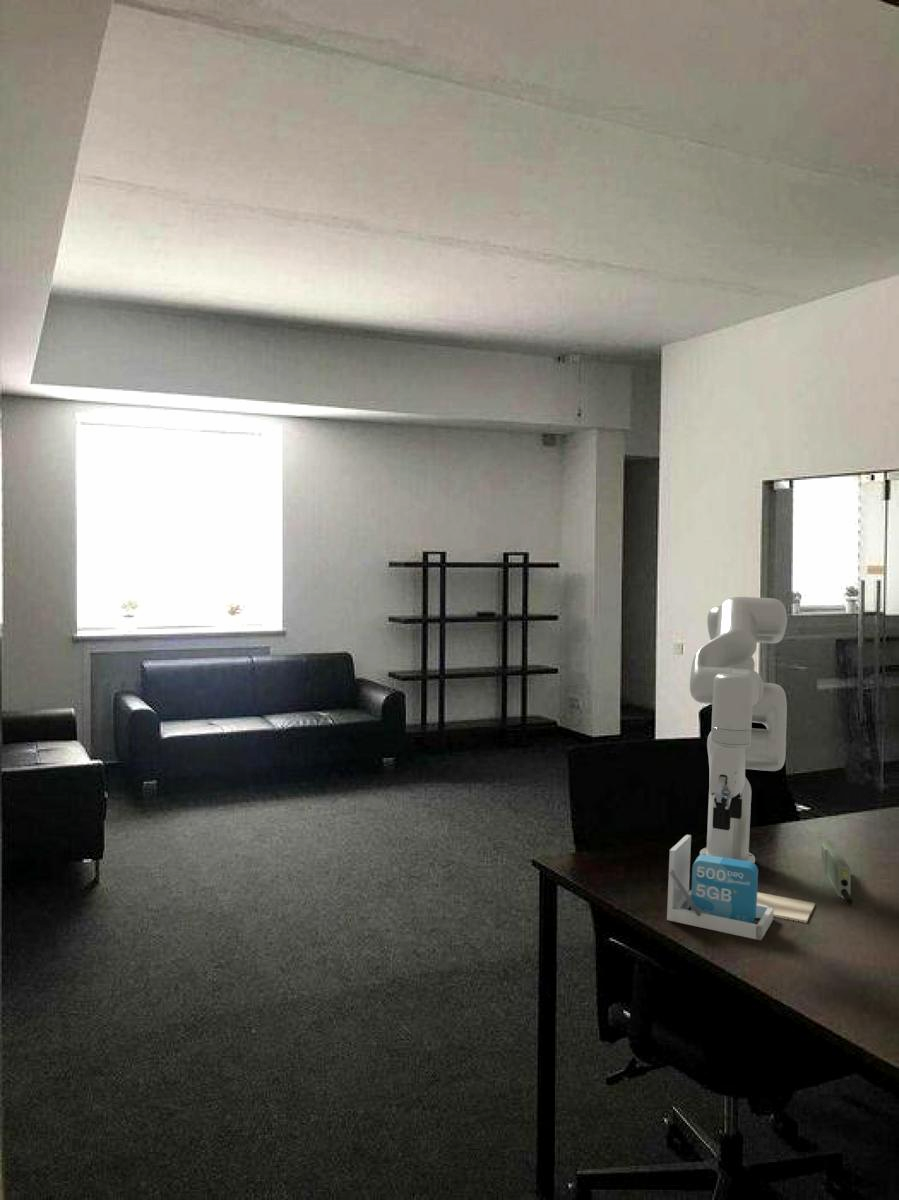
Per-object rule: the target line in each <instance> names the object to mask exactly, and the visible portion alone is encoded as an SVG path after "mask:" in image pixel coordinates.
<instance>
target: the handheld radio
mask: <svg viewBox="0 0 899 1200" xmlns="http://www.w3.org/2000/svg"><path fill="white" fill-rule="evenodd" d="M821 866H822V869H823V871H824V872H825V874H826V873H827V874H826V876H827V877H828V879H829V881H830V883H831V885H832V887H833V886H834V887H833V888H835V889H834V891H835V893H836V894H837V896H838V895H839V896H838V897H840V896H843V897H844V898H843V899H844V900H845V903H846V904H847V905H851V904H853V899H852V897H851V891H852V890H851V887H852V886H851V884H852V882H851V880H852V879H851V876H852V870H851V867H850V865H849V864H848V862H847V860H846V859H845V858H844V856H843V855H842V853H841V851H840V849H839V847H837V845H836V843H835V841H833V840H824V841H822V843H821Z"/></svg>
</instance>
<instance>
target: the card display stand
mask: <svg viewBox="0 0 899 1200" xmlns="http://www.w3.org/2000/svg"><path fill="white" fill-rule="evenodd" d="M691 843H692V835H691V834H686V835H684V836H683V837H682V838H681V839H680V840H679V841H678V842H677V843H676V844H675V845H673V846H672V847H671V848H670V849H669V854H668V855H669V858H668V859H669V860H668V882H667V883H668V885H667V908H666V920H667V921H670V922H675V923H679V924H683V925H688V926H693V927H698V928H703V929H707V930H711V931H714V932H715V931H717V932H720V933H724V934H730V935H734V936H739V937H743V938H748V939H752V940H758V941H762V939H763V938H764V937H765V935H766V932H767V931H768V929H769V928H770V926H771V924H772V922H773V921H774V907H771V906H766V905H761V904H757V908H756V917H755V919H759V921H758V923H757V924H756V923H748V922H743V921H738V920H733V919H729V918H724V917H719V916H714V915H710V914H705V913H700V911H699V910H698V908H697V907H696V905H695V904H694V902H693V901H692V899H691V890H692V889H691V890H690V876H691V875H690V874H691V873H690V870H691V852H692V851H691V846H692V844H691ZM691 907H692V908H693V910H694V911H691V909H690V908H691ZM689 909H690V910H689Z"/></svg>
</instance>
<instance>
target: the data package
mask: <svg viewBox="0 0 899 1200" xmlns="http://www.w3.org/2000/svg"><path fill="white" fill-rule="evenodd" d="M691 871H692V873H691V899H692V901H693V902H694V904H695V905H696V907H697V908H698V910H699V911H700V913H705V914H710V915H714V916H719V917H724V918H729V919H733V920H738V921H743V922H748V923H753V924H755V923H754V922H755V919H756V918H755V917H756V908H757V892H758V881H759V880H758V879H759V868H758V866H757V864H756V863H753V862H750V861H744V860H737V859H731V858H724V857H718V856H711V855H704V854H703V855H700V854H699V855H698V856H697V857H696V859H695V861H694V862H693V865H692V869H691ZM690 911H694V910H693V908H692V907H691V906H690Z"/></svg>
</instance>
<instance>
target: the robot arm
mask: <svg viewBox="0 0 899 1200" xmlns="http://www.w3.org/2000/svg"><path fill="white" fill-rule="evenodd" d="M706 620H707V629H708V636H709V639H710V640H709V641H707V642H706V643H705V644H704V645H702V646H701V647H700V648H699V649H698V650H697V651H696V653H695V655H694V656H693V658H692V663H691V669H690V677H689V692H690V696H691V698H692V699H693V700H694V701H696V702H697V703H700V704H707V705H711V709H712V711H711V728H710V729H711V730H710V732H709V734H708V736H707V740H706V741H707V742H706V747H707V748H706V749H707V755H708V756H707V757H708V766H709V767H708V768H709V769H708V770H709V773H708V774H709V777H708V778H709V780H708V781H709V782H708V783H709V787H708V788H709V789H708V806H707V807H708V809H707V828H706V829H707V833H706V847H704V848H702V849H700V851H699V856H700V855H703V854H704V855H711V856H718V857H724V858H731V859H737V860H744V861H750V862H753V863H754V864H756V857H755V855H754V854H753V853H751V852H749V851H750V849H749V848H750V833H751V832H750V826H751V809H752V808H751V807H752V806H751V803H752V786H751V784H750V782H749V780H748V778H747V777H746V770H754V771H755V770H756V771H768V772H776V771H779V770H781V769H782V768H783V767H784V765H785V761H786V753H787V750H786V749H787V718H788V716H787V714H788V713H787V712H788V708H787V707H788V703H787V696H786V691H785V690H784V688H783V687H782V686H781V685H779V684H777V683H774V682H764V680H763V678H762V677H761V675H760V674H759V673H758V672H757V671H755V665H756V664H755V660H754V658H753V656H754V654H755V652H756V651H757V646H758V644H759V643H760V644H779V643H780V642H781V641H782V640H783V638H784V636H785V633H786V629H787V625H788V614H787V608H786V607H785V604H784V603H783V602H782V601H781V600H780V599H777V598H773V597H772V598H771V597H754V596H753V597H751V596H750V597H749V596H734V597H730V598H727V599H725V600H724V601H723V602H722V603H721V604H720V605H718V606H715V607H713V608H711V609H710V610H709V611H708V613H707V618H706ZM757 643H758V644H757ZM752 723H756V724H762V725H764V726H765V728H766V729H765V728H754V727H752Z"/></svg>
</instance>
